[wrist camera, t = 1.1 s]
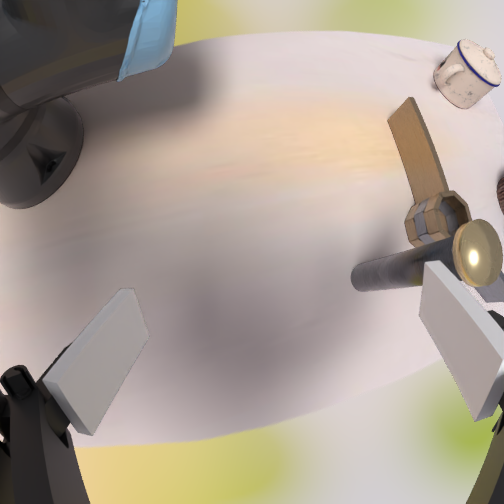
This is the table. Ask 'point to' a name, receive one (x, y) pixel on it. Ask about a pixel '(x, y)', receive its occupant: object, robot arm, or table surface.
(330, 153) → the table surface
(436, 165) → the tan flat knuckled part
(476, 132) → the table surface
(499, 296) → the hinge leaf
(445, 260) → the hinge pin
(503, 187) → the cupcake
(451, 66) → the teacup with lid
